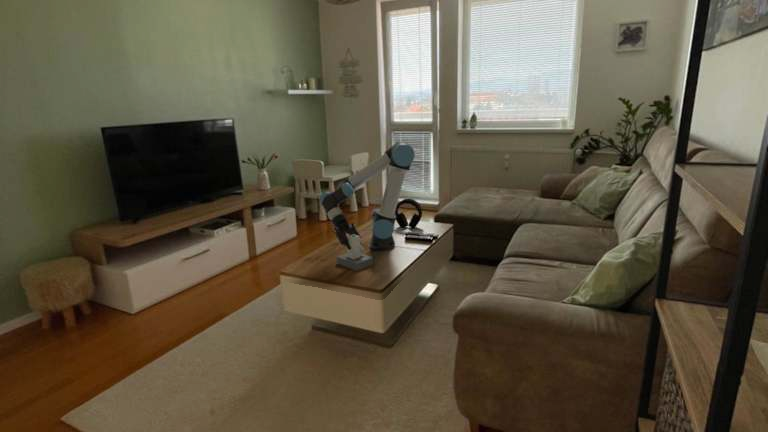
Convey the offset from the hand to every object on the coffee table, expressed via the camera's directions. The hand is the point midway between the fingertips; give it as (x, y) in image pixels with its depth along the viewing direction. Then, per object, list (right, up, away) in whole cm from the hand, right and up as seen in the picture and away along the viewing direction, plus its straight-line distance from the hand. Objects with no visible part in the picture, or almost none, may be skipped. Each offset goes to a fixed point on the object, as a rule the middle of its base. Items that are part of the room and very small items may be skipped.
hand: (358, 252), depth 226 cm
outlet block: (-2, -7, +4) cm, 8 cm away
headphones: (+31, +11, +70) cm, 77 cm away
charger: (-3, -3, +3) cm, 5 cm away
